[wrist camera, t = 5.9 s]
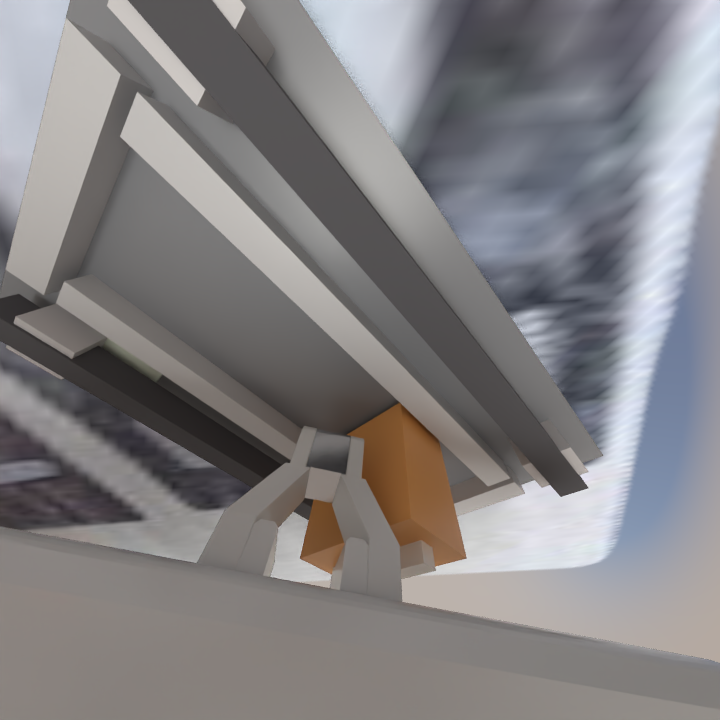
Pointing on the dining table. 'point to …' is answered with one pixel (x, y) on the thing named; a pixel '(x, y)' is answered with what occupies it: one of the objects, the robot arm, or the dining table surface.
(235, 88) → the pair of dark pieces
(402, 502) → the block
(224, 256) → the panel
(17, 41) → the dining table surface
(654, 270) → the dining table surface
